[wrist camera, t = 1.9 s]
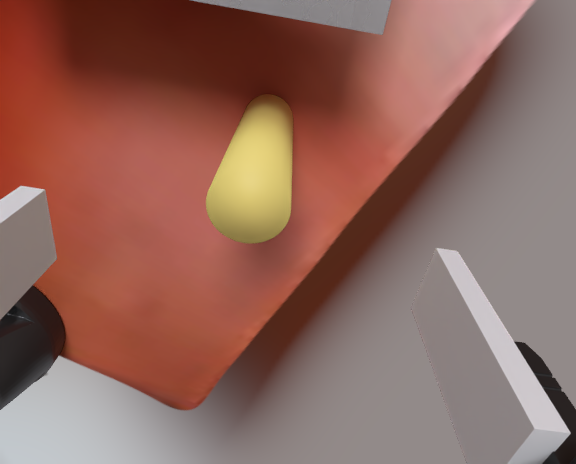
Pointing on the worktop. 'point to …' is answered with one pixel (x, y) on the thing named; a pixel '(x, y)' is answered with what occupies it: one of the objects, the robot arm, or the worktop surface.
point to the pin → (255, 174)
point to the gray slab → (320, 11)
